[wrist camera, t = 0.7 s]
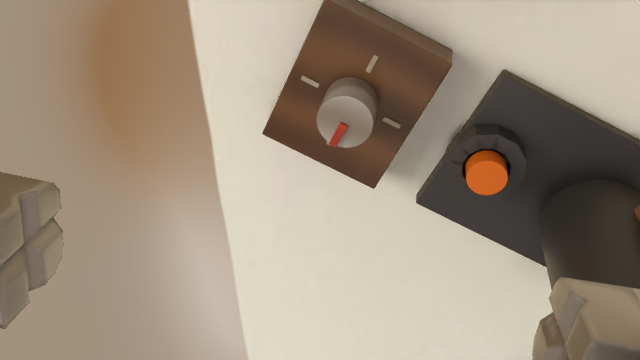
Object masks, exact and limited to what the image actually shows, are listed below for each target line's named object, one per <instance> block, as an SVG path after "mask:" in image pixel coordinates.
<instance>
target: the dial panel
mask: <svg viewBox="0 0 640 360" xmlns="http://www.w3.org/2000/svg"><path fill="white" fill-rule="evenodd" d="M451 66H452V50H451V49H449V48H447V47H445V46H443V45H441V44H439V43H437V42H435V41H433V40H432V39H430V38H428V37H426V36H424V35H422V34H420V33H418V32H416V31H414V30H412V29H410V28H408V27H407V26H405V25H403V24H401V23H399V22H397V21H395V20H393V19H391V18H389V17H387V16H385V15H383V14H382V13H380V12H378V11H376V10H374V9H372V8H370V7H368V6H366V5H364V4H362V3H360V2H358V1H357V0H324V1H323V3H322V5H321V8H320V10H319V12H318V14H317V16H316V18H315V21H314V23H313V25H312V27H311V29H310V31H309V33H308V36H307V38H306V40H305V42H304V44H303V46H302V49H301V51H300V53H299V55H298V57H297V59H296V62H295V64H294V66H293V68H292V70H291V72H290V75H289V77H288V79H287V81H286V83H285V85H284V88H283V90H282V92H281V94H280V96H279V98H278V100H277V103H276V105H275V107H274V109H273V111H272V113H271V116H270V118H269V120H268V122H267V124H266V126H265V129H264V131H263V133H262V134H263V135H265V136H267V137H269V138H271V139H273V140H275V141H278V142H280V143H282V144H284V145H286V146H288V147H290V148H292V149H294V150H296V151H298V152H300V153H302V154H304V155H306V156H308V157H310V158H312V159H314V160H316V161H318V162H320V163H322V164H324V165H326V166H328V167H330V168H332V169H334V170H337V171H339V172H341V173H343V174H345V175H347V176H349V177H351V178H353V179H355V180H357V181H359V182H361V183H363V184H365V185H367V186H369V187H371V188H373V189H374V188H375V187H376V185H377V184H378V182H379V180H380V179H381V177H382V176H383V174H384V172H385V171H386V169H387V168H388V166H389V165H390V163H391V161H392V160H393V158H394V157H395V155H396V153H397V152H398V150H399V149H400V147H401V146H402V144H403V142H404V141H405V139H406V138H407V136H408V134H409V133H410V131H411V130H412V128H413V127H414V125H415V123H416V122H417V120H418V119H419V117H420V115H421V114H422V112H423V111H424V109H425V108H426V106H427V104H428V103H429V101H430V100H431V98H432V96H433V95H434V93H435V92H436V90H437V89H438V87H439V85H440V84H441V82H442V81H443V79H444V78H445V76H446V74H447V73H448V71H449V70H450V68H451ZM345 77H356V78H359V79H362V80H364V81H366V82H367V83H368V84H370V85H371V86H372V88H373V89H374V90H375V92H376V95H377V98H378V108H377V113H376V117H375V121H374V126H373V130H372V133H371V135H370V136H369V138H368V139H367V140H366V141H365V142H363V143H362V144H360V145H358V146H355V147H349V148H344V147H339V146H336V148H335V147H333V146H331V145H329V142H328V141H327V140H326V139H325V138H324V137H323V136H322V135H321V133H320V131H319V129H318V126H317V114H318V111H319V108H320V106H321V104H322V101H323V99H324V96H325V94H326V92H327V90H328V88H329V87H330V85H331V84H332V83H333V82H335V81H336V80H338V79H341V78H345Z"/></svg>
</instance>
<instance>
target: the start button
mask: <svg viewBox="0 0 640 360" xmlns="http://www.w3.org/2000/svg"><path fill="white" fill-rule="evenodd" d="M466 181H467V184H468V186H469V188H470V189H471V190H472V191H474V192H475V193H477V194H480V195H492V194H496V193H498V192H499V191H501V190H502V189H503V188H504V187H505V186H506V184H507V181H508V173H507V167H506V162H505V160H504V158H503V157H502V156H501V155H500V154H499V153H497V152H495V151H491V150H482V151H478V152H476V153H474V154H473V155H472V156H471V157H470V158H469V159H468V161H467V163H466Z"/></svg>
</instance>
